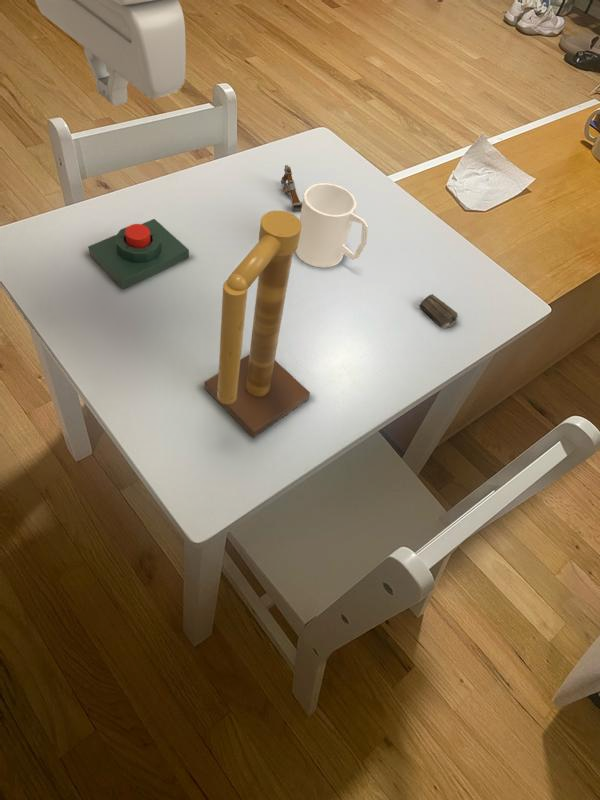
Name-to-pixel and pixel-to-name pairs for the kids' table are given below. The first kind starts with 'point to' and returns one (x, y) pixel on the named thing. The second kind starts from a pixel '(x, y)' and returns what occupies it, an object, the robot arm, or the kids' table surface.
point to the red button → (137, 236)
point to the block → (439, 311)
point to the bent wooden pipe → (274, 239)
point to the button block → (138, 255)
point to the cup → (328, 225)
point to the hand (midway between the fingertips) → (112, 98)
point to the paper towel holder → (264, 359)
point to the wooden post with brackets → (291, 188)
